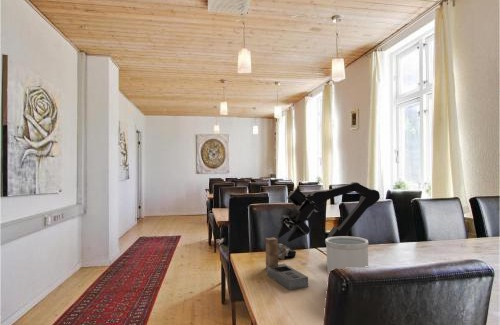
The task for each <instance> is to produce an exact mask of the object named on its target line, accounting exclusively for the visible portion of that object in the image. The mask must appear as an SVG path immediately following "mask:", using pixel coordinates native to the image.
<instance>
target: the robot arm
mask: <svg viewBox="0 0 500 325" xmlns="http://www.w3.org/2000/svg"><path fill="white" fill-rule="evenodd" d="M354 192H356V193H357V195H360V197H359V201H358V203H357V204H356V205H355V207H354V208H353V209H352V211H350V213H349V214H348V215H347V217H346V218H344V220H343V221H342V223H340V225H339V226H338V227H336V226H333V227H332V228H331V229H330V230H329V231H328V235H327V238H329V237H337V236H348V233H349V231H351V229H352V228H353V227H354V225H355V224H356V223H357V222H358V221H359V219H360V218H361V217H362V216H363V214H364V213H365V212H366V211H367V209H369V208H370V207H372V206H373V205H375V204H376V203H377V202H378V201H379V200H380V198H381V195H380V192H379V191H378V190H376V189H373V188H369V187H366V186H364V185H363V184H360V183H359V182H356V181H352V182H350V183H347V184H343V185H340V186H337V187H333V188H331V189H324V190H314V191H312V192H311V193H309V194H304V193H303V192H302V191H301V190H300V189H299V188H298V187H296V188H295V189H294V190H293V191H291V192H290V193H289V195H287V197H286V199H287V200H289V202H291V203H292V204H293V205H294V206H295V207H299V208H298V209H297V208H294V207H292V208H288V207H284V208H283V209H282V214H281V215H284V216H281V217H280V219H279V222H280V229H279V231H278V233H277V239H278V238H282V237H283V236H284V235H286V234H288V232H290V231H291V230H292V228H293V230H292V232H291V233H290V235H289V236H288V238H287V242H288V243H291V242H292V241H295V240H297V239H298V238H301V237H303V236H306V235H307V236H308V235H309V234H310V232H311V227H310V226H309V225H308V224H307V223H306V222H308V221H310V219H309V218H310V216H311V215H312V213H313V212H315V213H318V212H320V211H319V210H320V209H319V205H321V204H323V203H325V202H327V201H329V200H330V199H333V198H336V197H339V196H343V195H346V194H351V193H354ZM315 204H316V205H315Z"/></svg>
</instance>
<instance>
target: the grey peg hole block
mask: <svg viewBox="0 0 500 325" xmlns="http://www.w3.org/2000/svg"><path fill="white" fill-rule="evenodd" d="M266 269H267V271H266V272H267V276H269V277H270V279H273V280H274V281H276V282H278V283H279V285H282V286H283V287H285V289H287V290H289V291H291V290H293V291H294V290H297V289H304V288H307V287H309V276H307V275H305V274H303V273H302V272H301V271H298V270H297V269H295V268H293V267H291V266H289V265H287V264H286V263H281V264H280V263H278V265H272V266H267V268H266Z"/></svg>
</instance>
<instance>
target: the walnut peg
mask: <svg viewBox="0 0 500 325" xmlns="http://www.w3.org/2000/svg"><path fill="white" fill-rule="evenodd" d="M278 240H279V239H278V238H276V237H266V238H265V269H267V266H272V265H279V258H278V244H279V242H278Z"/></svg>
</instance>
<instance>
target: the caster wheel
mask: <svg viewBox="0 0 500 325" xmlns="http://www.w3.org/2000/svg"><path fill="white" fill-rule="evenodd" d="M296 255H297V250H294V249H292V248H290V247H287V245H284V244H283V243H278V260H279V259H280V260H285V257H292V258H294V257H296Z"/></svg>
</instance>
